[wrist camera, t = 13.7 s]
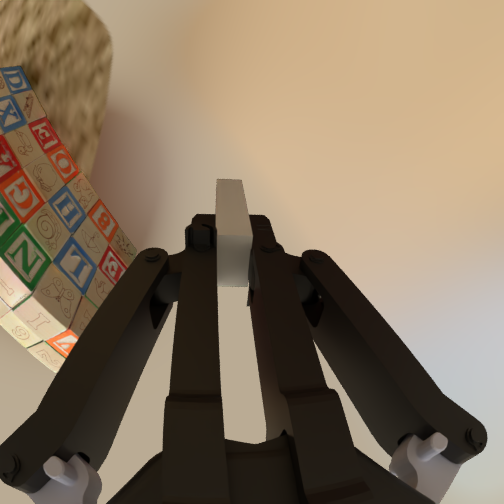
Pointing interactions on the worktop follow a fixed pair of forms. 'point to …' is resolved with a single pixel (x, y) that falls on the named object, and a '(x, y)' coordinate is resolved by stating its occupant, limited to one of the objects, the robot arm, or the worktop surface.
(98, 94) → the worktop surface
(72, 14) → the worktop surface
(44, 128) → the stack of blocks
